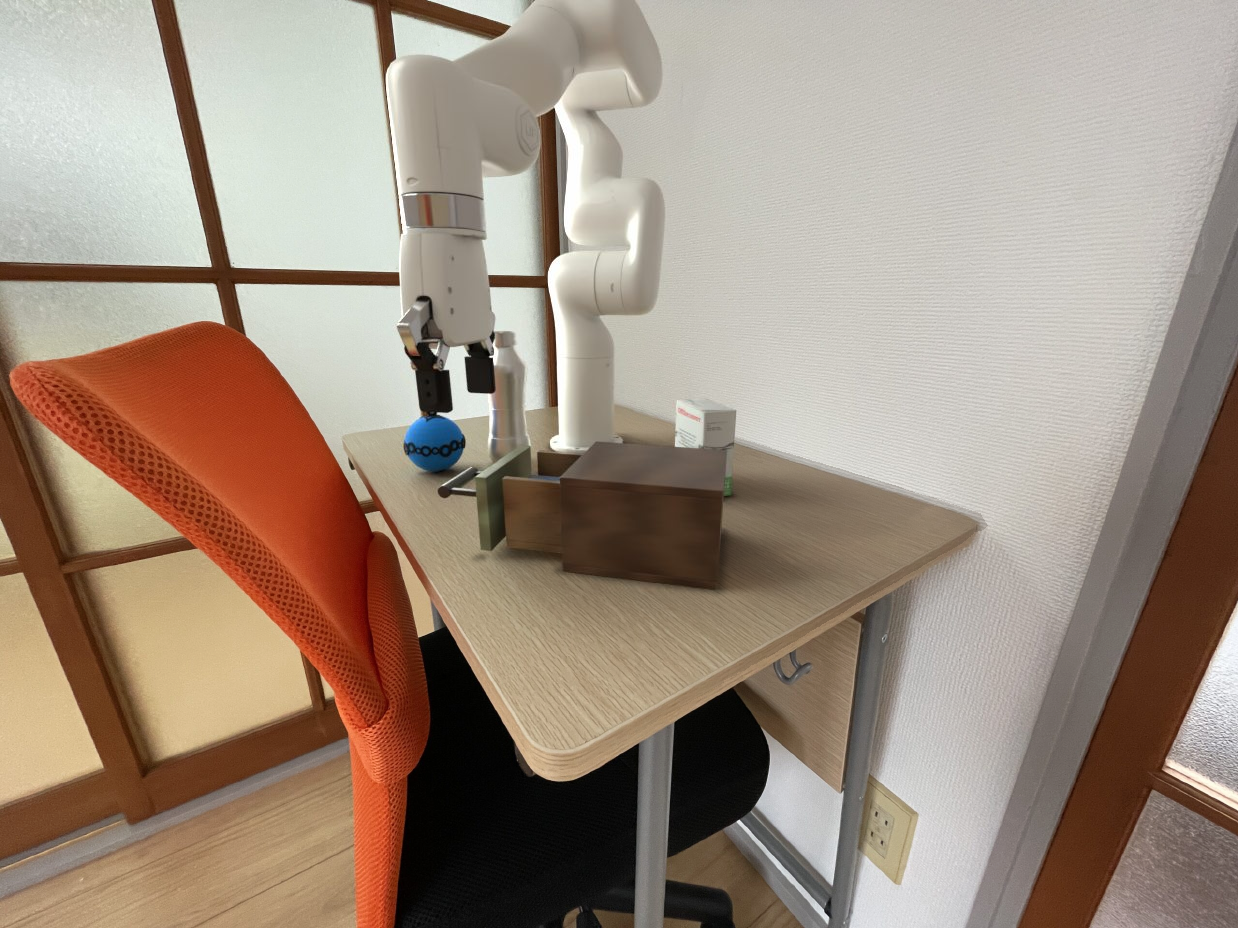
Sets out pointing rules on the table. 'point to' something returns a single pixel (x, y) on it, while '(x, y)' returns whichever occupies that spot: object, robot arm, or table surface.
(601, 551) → the cabinet
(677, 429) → the ink box
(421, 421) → the ornament
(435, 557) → the table surface
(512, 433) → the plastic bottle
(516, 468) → the drawer
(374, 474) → the table surface
